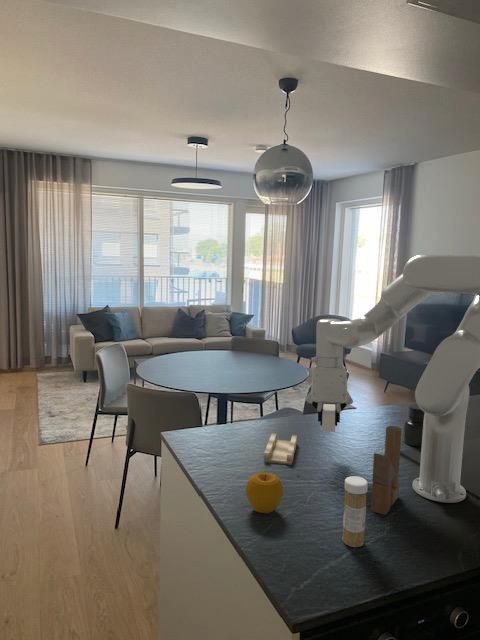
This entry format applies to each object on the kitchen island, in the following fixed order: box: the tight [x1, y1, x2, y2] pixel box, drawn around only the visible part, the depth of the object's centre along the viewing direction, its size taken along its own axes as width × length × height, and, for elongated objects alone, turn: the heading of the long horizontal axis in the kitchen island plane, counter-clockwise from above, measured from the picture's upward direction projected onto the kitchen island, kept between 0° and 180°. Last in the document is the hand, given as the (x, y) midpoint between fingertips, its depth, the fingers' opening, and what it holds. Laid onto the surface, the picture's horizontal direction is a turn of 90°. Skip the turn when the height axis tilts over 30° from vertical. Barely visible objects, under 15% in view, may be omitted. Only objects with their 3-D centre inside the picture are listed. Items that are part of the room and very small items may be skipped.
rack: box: [263, 432, 298, 466], centre depth 146 cm, size 16×8×3 cm, turn 168°
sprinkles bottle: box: [341, 475, 369, 548], centre depth 99 cm, size 5×5×13 cm
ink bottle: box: [402, 403, 425, 448], centre depth 155 cm, size 10×9×12 cm
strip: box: [321, 403, 336, 433], centre depth 140 cm, size 12×4×4 cm, turn 168°
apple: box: [245, 471, 284, 514], centre depth 111 cm, size 8×8×9 cm
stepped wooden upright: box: [370, 425, 402, 516], centre depth 115 cm, size 4×11×18 cm, turn 147°
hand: (328, 423), depth 141 cm, fingers closed on strip, 3 cm apart
